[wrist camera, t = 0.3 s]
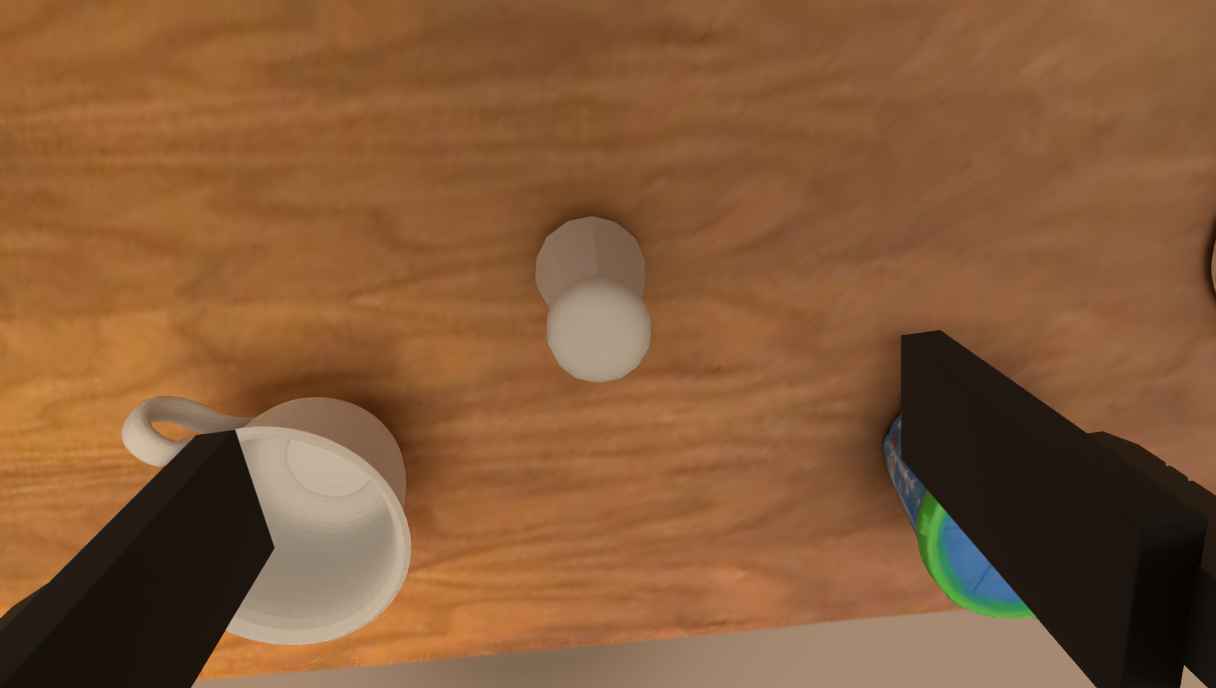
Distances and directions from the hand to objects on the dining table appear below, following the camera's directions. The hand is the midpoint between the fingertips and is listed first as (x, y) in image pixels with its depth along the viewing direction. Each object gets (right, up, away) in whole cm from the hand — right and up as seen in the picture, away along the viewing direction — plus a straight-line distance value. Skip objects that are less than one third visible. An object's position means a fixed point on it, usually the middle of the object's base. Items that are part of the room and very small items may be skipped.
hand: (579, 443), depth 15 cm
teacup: (-16, -3, +30) cm, 34 cm away
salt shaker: (0, +7, +27) cm, 28 cm away
